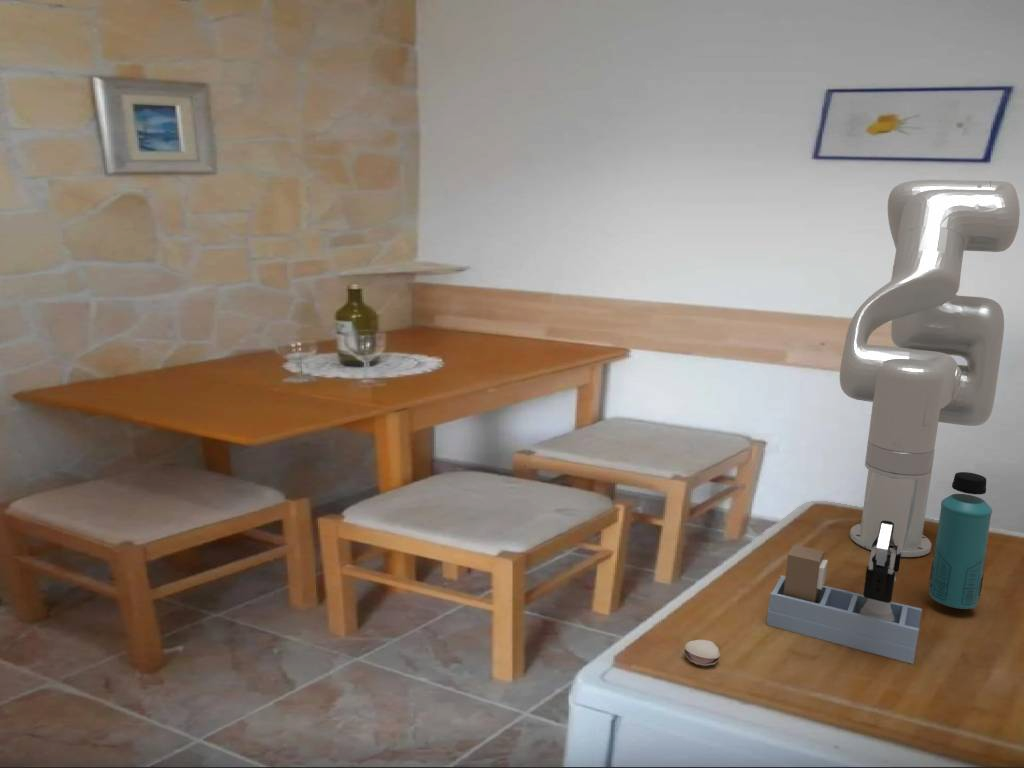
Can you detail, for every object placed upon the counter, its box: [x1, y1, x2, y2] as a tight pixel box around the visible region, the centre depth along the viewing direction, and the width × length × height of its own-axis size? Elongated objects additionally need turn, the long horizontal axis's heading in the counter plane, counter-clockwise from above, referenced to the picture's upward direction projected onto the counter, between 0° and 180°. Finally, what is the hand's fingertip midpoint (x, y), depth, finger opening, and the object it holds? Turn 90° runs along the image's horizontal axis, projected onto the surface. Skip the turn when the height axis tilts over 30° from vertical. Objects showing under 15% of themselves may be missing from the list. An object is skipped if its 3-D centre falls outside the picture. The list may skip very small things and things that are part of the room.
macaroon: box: [683, 639, 721, 667], centre depth 102 cm, size 4×5×2 cm
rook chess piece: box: [859, 570, 897, 622], centre depth 106 cm, size 4×4×8 cm
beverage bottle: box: [927, 471, 993, 610], centre depth 115 cm, size 6×7×20 cm
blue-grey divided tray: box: [766, 544, 923, 665], centre depth 108 cm, size 7×18×10 cm, turn 60°
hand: (881, 583), depth 106 cm, fingers open, 9 cm apart
